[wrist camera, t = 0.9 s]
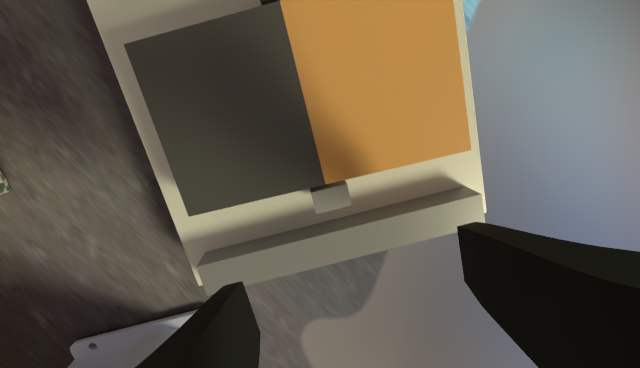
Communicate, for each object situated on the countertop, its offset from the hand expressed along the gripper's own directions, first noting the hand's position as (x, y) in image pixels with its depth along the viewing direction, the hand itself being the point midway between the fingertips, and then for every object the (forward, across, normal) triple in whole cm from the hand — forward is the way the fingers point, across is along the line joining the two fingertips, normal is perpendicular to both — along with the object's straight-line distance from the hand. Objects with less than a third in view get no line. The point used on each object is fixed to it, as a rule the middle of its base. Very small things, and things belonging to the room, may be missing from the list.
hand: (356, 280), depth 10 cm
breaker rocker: (+5, 0, -6) cm, 8 cm away
